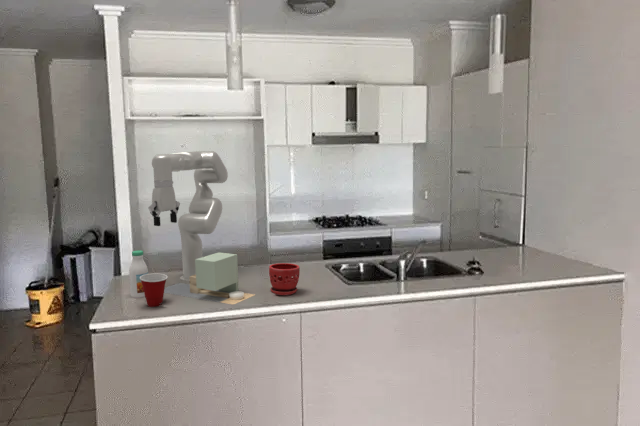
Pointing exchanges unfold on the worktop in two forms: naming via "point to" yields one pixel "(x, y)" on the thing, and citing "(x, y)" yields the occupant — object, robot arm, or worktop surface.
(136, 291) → the milk bottle
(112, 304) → the worktop surface
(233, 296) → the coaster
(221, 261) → the shelf block
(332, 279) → the worktop surface
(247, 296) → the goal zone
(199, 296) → the board
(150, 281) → the plastic cup
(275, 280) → the plant pot
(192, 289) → the block
